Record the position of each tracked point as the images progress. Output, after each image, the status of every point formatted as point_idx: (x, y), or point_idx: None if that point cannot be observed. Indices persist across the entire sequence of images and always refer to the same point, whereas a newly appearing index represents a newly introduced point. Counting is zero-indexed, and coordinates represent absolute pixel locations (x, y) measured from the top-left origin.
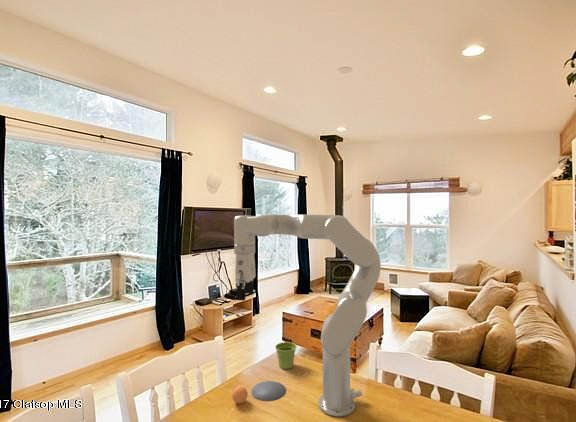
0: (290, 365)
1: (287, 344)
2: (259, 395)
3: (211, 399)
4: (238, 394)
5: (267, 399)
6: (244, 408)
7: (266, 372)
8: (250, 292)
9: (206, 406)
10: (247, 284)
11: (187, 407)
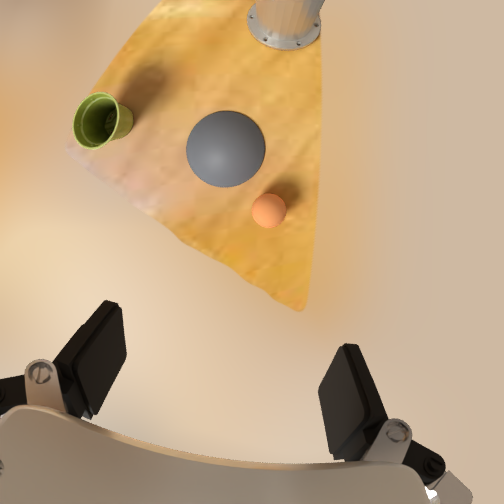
0: (128, 109)
1: (77, 121)
2: (245, 167)
3: (256, 264)
4: (284, 213)
5: (261, 149)
6: (289, 195)
7: (146, 163)
8: (120, 321)
9: (279, 268)
10: (95, 391)
11: (279, 298)
